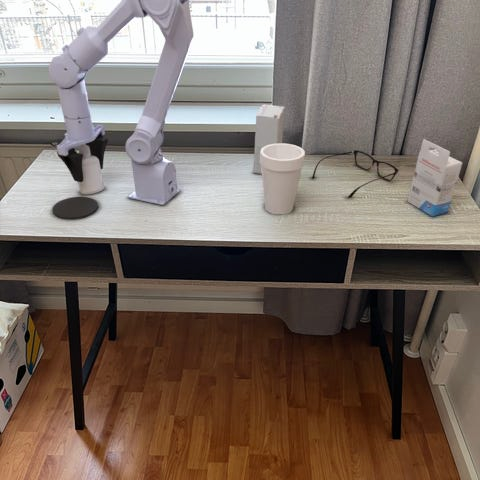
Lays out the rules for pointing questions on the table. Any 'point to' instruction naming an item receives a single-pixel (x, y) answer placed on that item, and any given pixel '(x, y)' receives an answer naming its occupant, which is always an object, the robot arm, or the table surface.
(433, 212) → the ink box
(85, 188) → the eye dropper bottle
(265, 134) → the cosmetic box
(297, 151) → the foam cup
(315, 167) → the eyeglasses
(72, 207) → the coaster
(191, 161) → the table surface
